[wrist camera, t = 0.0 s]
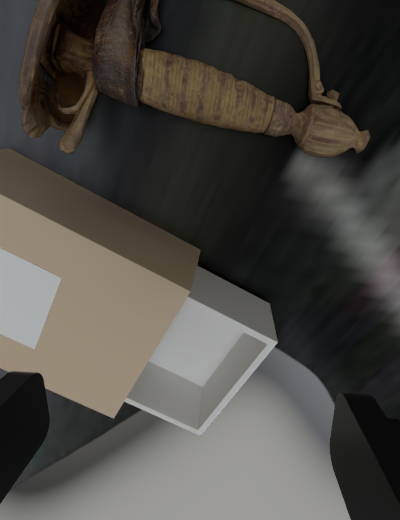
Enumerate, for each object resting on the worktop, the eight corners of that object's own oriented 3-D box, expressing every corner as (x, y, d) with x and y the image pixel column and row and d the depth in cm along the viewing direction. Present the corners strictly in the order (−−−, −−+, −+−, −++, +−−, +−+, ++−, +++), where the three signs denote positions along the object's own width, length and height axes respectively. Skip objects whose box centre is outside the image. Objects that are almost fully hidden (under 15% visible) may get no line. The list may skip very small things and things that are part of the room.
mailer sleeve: (9, 148, 28) (-75, 156, 21) (200, 249, 31) (190, 292, 23) (-23, 281, 35) (-96, 326, 27) (138, 357, 37) (113, 419, 29)
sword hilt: (34, -188, 16) (-38, 107, 16) (497, -52, 16) (408, 233, 16) (99, -17, 26) (53, 160, 26) (381, 64, 26) (329, 238, 26)
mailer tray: (94, 211, 29) (61, 232, 23) (269, 303, 31) (277, 342, 26) (53, 316, 34) (18, 353, 29) (205, 388, 36) (200, 436, 31)
